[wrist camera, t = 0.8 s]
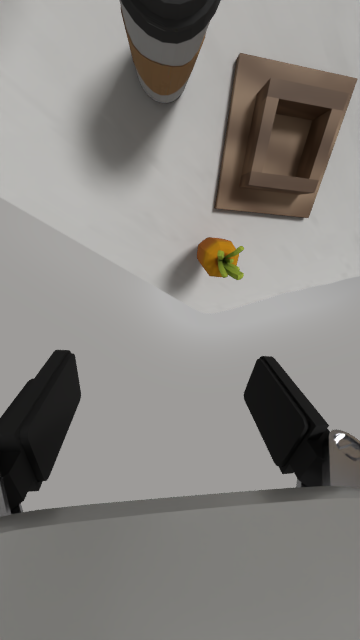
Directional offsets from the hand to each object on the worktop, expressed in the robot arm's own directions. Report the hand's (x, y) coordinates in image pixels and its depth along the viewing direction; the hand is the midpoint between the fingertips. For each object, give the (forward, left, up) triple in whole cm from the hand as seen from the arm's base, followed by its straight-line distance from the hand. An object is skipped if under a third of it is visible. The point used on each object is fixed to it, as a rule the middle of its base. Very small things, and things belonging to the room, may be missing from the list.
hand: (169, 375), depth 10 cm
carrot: (-3, +8, -28) cm, 29 cm away
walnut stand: (-17, +17, -28) cm, 36 cm away
